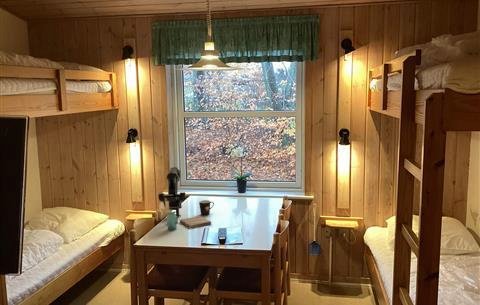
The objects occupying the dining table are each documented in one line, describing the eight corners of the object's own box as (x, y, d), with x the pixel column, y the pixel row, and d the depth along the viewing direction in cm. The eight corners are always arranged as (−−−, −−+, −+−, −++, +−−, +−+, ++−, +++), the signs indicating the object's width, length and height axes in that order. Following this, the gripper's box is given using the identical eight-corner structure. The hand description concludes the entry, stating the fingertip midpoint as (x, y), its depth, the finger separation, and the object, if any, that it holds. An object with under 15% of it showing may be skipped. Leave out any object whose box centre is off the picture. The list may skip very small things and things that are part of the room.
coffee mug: (200, 216, 336) (199, 203, 334) (198, 213, 344) (198, 200, 343) (215, 215, 338) (215, 202, 336) (214, 212, 346) (213, 199, 345)
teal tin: (166, 229, 307) (165, 210, 305) (174, 227, 310) (173, 209, 308) (169, 231, 301) (168, 212, 300) (178, 229, 304) (177, 210, 303)
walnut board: (180, 222, 322) (180, 219, 322) (200, 218, 330) (200, 215, 329) (189, 228, 306) (189, 225, 306) (211, 224, 314) (211, 221, 314)
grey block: (168, 223, 321) (168, 216, 321) (175, 221, 324) (174, 215, 323) (170, 224, 317) (170, 217, 316) (177, 223, 319) (177, 216, 319)
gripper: (186, 193, 328) (186, 212, 319) (160, 194, 327) (159, 213, 317) (185, 184, 319) (185, 203, 310) (158, 186, 318) (157, 205, 309)
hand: (171, 206), depth 312 cm, fingers open, 9 cm apart
